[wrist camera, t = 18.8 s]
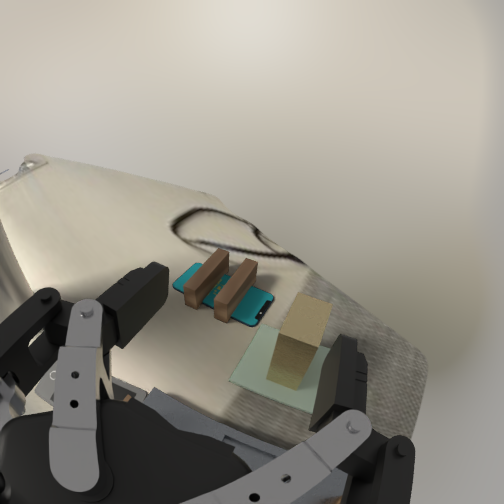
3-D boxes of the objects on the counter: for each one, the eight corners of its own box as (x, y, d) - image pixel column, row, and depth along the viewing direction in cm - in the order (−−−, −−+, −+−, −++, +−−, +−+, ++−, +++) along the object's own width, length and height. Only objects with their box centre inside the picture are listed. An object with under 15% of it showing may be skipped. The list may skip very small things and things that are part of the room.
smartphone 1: (150, 393, 29) (148, 391, 28) (124, 448, 22) (122, 447, 22) (62, 351, 31) (60, 348, 30) (35, 394, 24) (33, 391, 24)
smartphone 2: (196, 260, 48) (275, 294, 43) (197, 264, 48) (275, 298, 44) (170, 285, 43) (253, 327, 38) (170, 289, 43) (253, 330, 38)
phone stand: (185, 304, 40) (183, 285, 38) (218, 266, 48) (218, 248, 45) (226, 323, 38) (227, 304, 36) (255, 280, 46) (257, 262, 43)
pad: (228, 381, 31) (228, 379, 31) (261, 325, 39) (261, 323, 38) (320, 417, 28) (321, 415, 28) (340, 354, 35) (342, 352, 35)
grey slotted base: (112, 453, 21) (86, 438, 17) (157, 393, 29) (144, 366, 24) (324, 546, 14) (350, 554, 10) (355, 473, 22) (384, 462, 17)
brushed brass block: (265, 379, 31) (278, 332, 25) (283, 343, 36) (298, 292, 30) (296, 390, 30) (318, 347, 24) (310, 353, 35) (332, 304, 29)
